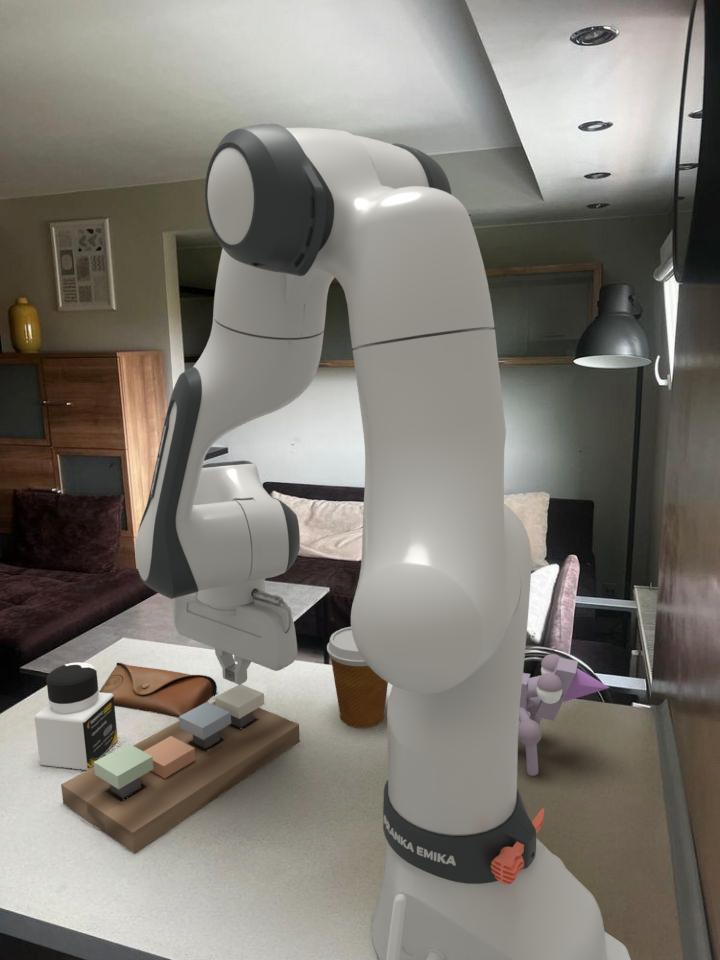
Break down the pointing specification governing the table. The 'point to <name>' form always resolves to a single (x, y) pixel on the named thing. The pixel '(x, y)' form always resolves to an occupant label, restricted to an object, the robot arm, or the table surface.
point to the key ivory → (240, 703)
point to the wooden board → (179, 780)
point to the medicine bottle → (75, 719)
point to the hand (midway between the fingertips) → (235, 680)
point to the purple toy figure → (549, 699)
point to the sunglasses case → (158, 689)
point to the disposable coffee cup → (355, 682)
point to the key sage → (124, 769)
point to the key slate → (205, 723)
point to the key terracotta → (170, 756)
